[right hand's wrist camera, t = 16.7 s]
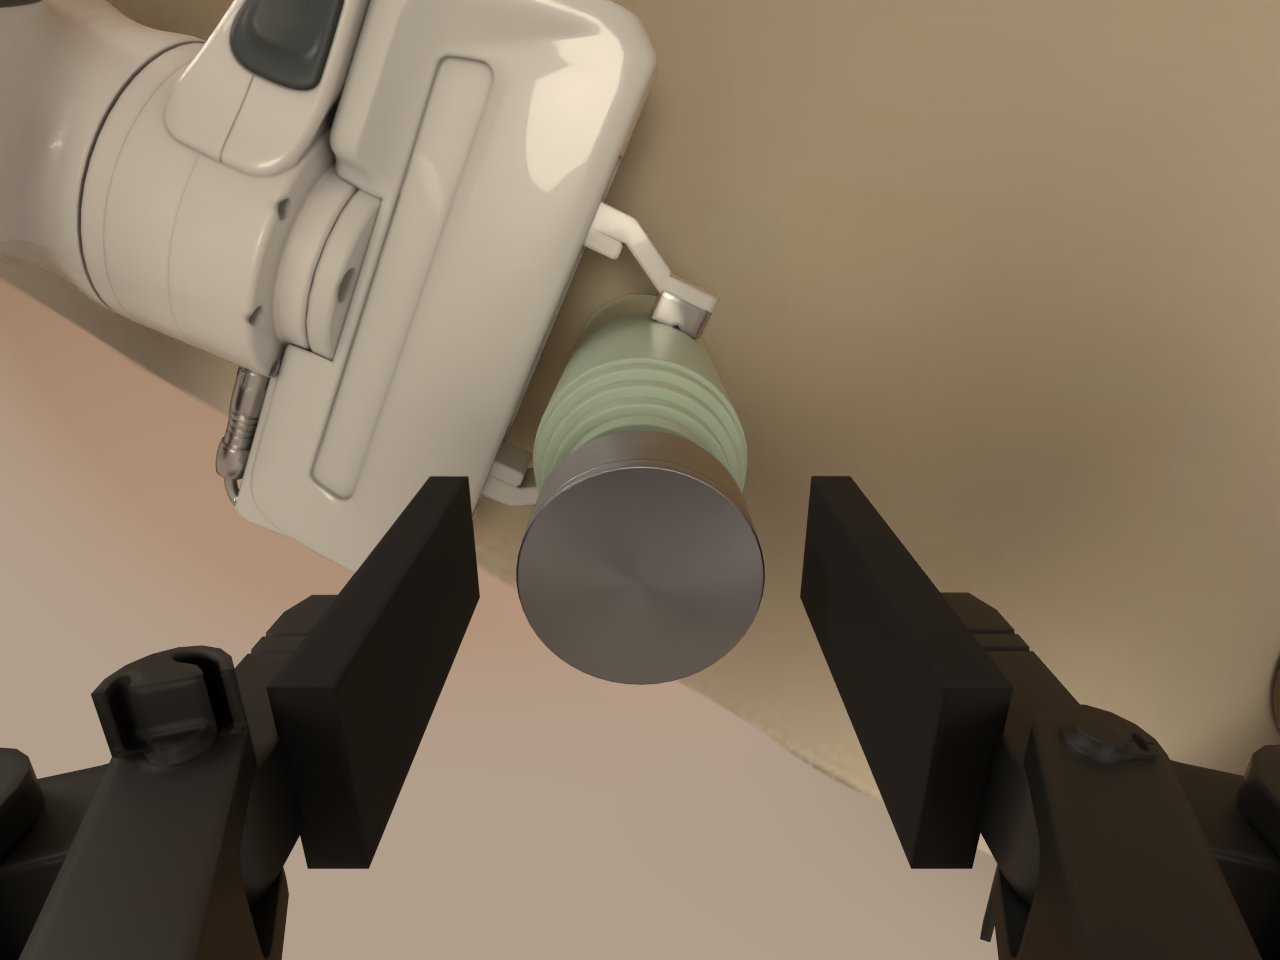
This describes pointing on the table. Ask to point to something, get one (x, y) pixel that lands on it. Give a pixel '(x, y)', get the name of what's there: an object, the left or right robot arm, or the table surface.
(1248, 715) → the table surface
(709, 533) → the cap
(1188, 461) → the table surface
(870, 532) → the right robot arm
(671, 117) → the table surface
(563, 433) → the bottle
